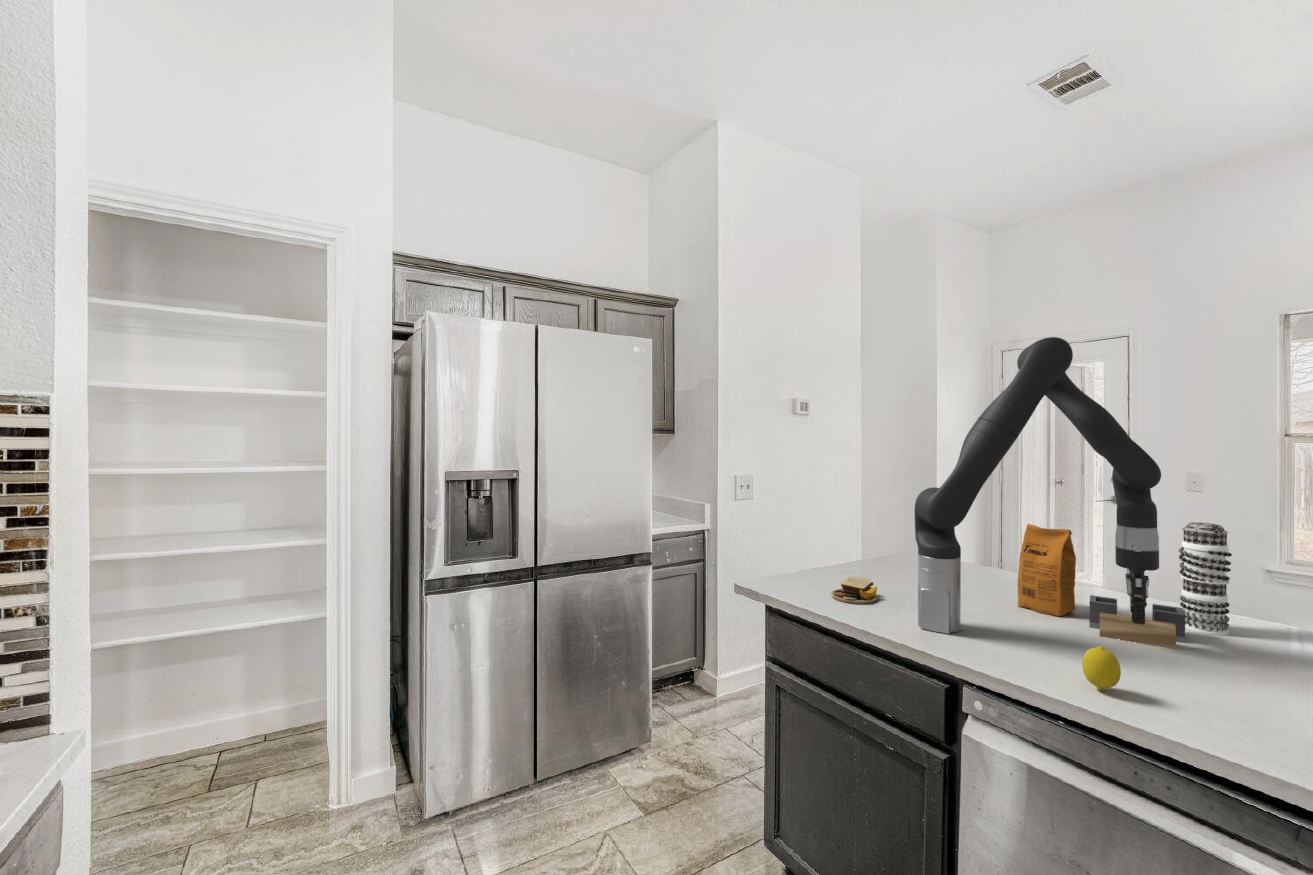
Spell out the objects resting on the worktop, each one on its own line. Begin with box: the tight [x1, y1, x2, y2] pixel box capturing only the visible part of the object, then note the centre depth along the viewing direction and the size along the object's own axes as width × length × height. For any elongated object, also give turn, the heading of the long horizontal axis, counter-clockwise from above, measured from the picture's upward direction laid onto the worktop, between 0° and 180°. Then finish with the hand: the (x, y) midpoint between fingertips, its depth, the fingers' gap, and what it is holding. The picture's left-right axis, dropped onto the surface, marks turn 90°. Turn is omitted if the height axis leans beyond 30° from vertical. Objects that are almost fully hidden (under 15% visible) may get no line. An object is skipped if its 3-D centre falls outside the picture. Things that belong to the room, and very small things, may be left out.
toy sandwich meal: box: [830, 576, 879, 605], centre depth 163 cm, size 12×14×5 cm
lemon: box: [1081, 645, 1122, 691], centre depth 104 cm, size 6×6×8 cm
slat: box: [1099, 612, 1177, 651], centre depth 129 cm, size 3×13×5 cm, turn 51°
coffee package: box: [1017, 523, 1077, 617], centre depth 152 cm, size 10×12×22 cm
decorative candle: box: [1178, 522, 1233, 636], centre depth 136 cm, size 9×9×25 cm
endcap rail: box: [1088, 594, 1186, 644], centre depth 136 cm, size 8×17×6 cm, turn 52°
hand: (1137, 618), depth 129 cm, fingers open, 8 cm apart
